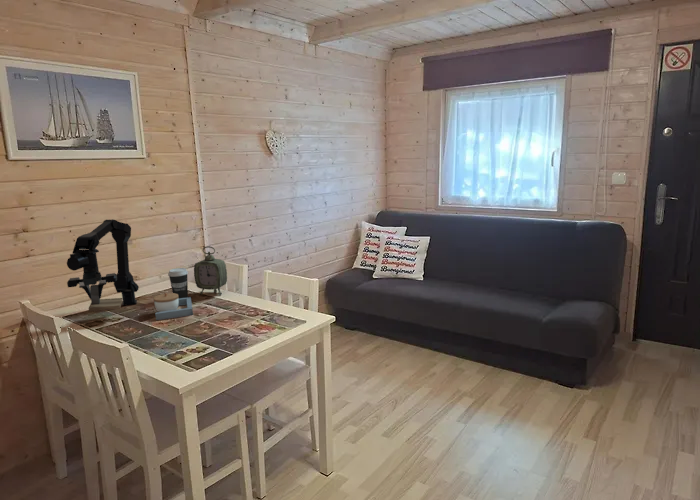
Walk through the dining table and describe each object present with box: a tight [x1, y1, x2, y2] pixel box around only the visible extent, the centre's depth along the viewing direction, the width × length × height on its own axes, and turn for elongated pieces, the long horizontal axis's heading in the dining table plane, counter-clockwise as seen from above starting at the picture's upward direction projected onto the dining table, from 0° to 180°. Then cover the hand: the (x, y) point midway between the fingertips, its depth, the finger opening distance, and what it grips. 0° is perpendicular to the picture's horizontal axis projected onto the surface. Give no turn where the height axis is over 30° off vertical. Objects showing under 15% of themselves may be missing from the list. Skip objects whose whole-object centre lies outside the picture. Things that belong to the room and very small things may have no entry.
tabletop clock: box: [193, 245, 228, 296], centre depth 242 cm, size 14×9×25 cm, turn 76°
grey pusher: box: [88, 284, 123, 312], centre depth 209 cm, size 12×12×10 cm
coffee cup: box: [167, 267, 189, 299], centre depth 236 cm, size 10×10×15 cm
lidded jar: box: [153, 292, 179, 312], centre depth 217 cm, size 11×11×9 cm
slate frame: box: [154, 296, 194, 321], centre depth 219 cm, size 19×16×3 cm
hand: (95, 298), depth 208 cm, fingers closed on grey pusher, 3 cm apart
